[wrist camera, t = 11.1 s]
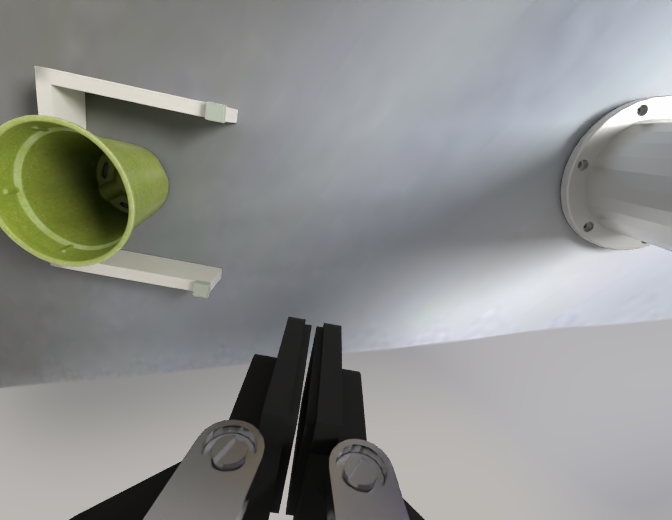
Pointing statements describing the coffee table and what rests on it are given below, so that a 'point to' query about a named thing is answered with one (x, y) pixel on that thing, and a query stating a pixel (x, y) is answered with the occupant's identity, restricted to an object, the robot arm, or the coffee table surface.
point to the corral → (69, 104)
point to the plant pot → (73, 190)
